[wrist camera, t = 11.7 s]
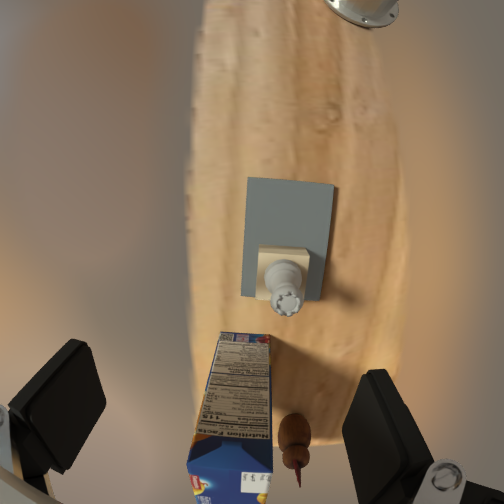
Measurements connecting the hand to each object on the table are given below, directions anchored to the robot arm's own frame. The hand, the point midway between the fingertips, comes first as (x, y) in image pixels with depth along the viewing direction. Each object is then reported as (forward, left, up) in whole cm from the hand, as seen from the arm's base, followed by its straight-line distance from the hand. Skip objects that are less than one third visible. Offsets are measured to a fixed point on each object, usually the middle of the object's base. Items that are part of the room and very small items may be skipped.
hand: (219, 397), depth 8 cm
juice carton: (+22, 0, -31) cm, 38 cm away
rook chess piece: (+5, +4, -26) cm, 26 cm away
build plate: (+2, +5, -30) cm, 31 cm away
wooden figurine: (+36, +10, -31) cm, 48 cm away
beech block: (+5, +4, -29) cm, 30 cm away
